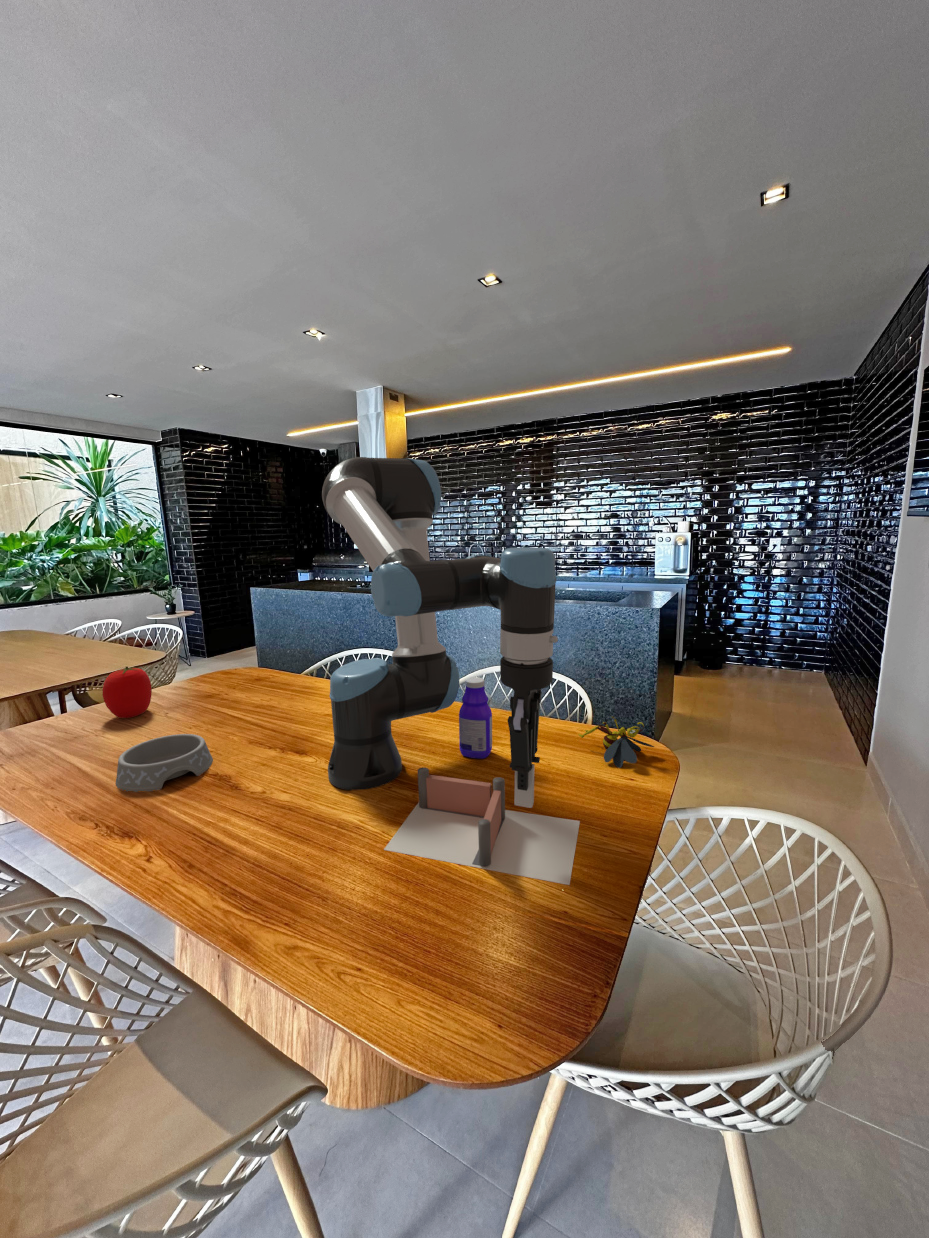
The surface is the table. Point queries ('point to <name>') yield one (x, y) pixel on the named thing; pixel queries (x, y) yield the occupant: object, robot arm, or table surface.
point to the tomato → (127, 692)
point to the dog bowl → (161, 761)
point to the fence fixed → (457, 793)
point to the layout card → (517, 850)
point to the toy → (619, 744)
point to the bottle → (475, 721)
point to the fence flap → (489, 829)
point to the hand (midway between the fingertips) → (524, 803)
